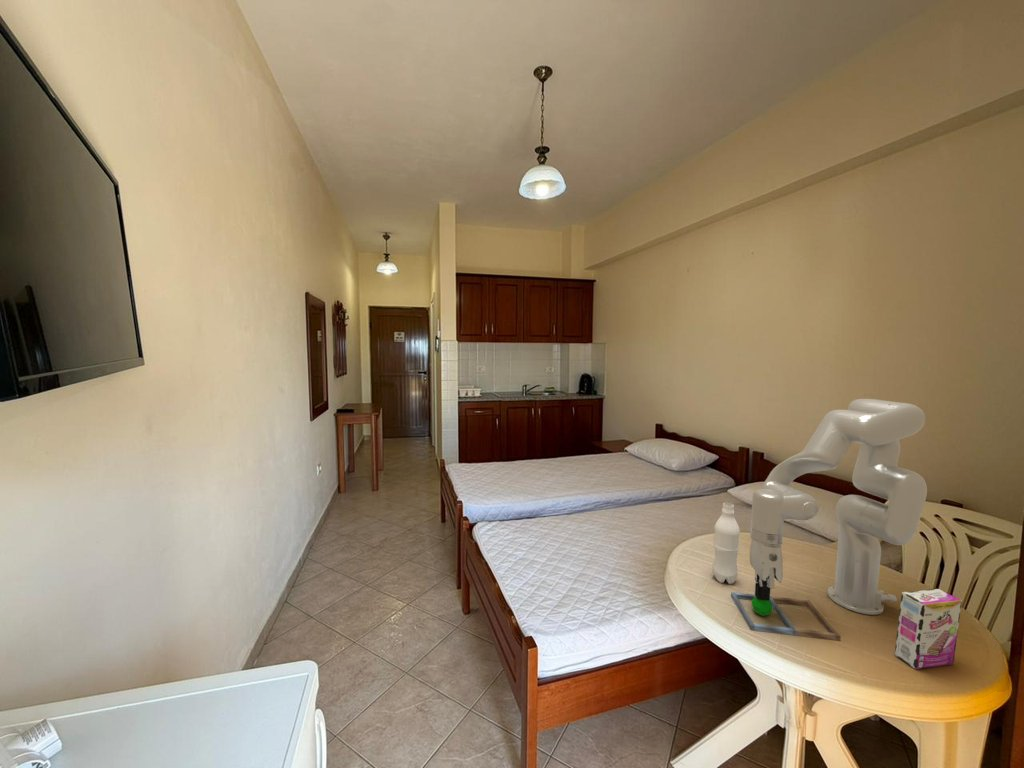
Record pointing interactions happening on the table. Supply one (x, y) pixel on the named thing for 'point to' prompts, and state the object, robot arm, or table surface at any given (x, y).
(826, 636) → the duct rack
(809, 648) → the table surface
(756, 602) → the polyhedron
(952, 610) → the candy bar box
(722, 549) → the water bottle
